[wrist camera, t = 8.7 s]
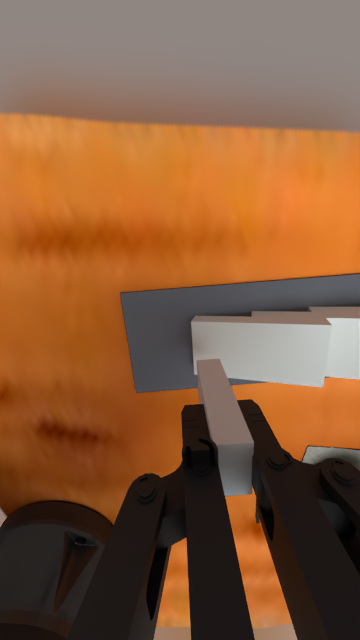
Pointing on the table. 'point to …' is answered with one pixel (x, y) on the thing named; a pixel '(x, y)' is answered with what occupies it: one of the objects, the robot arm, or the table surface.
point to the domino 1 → (265, 347)
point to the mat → (215, 300)
